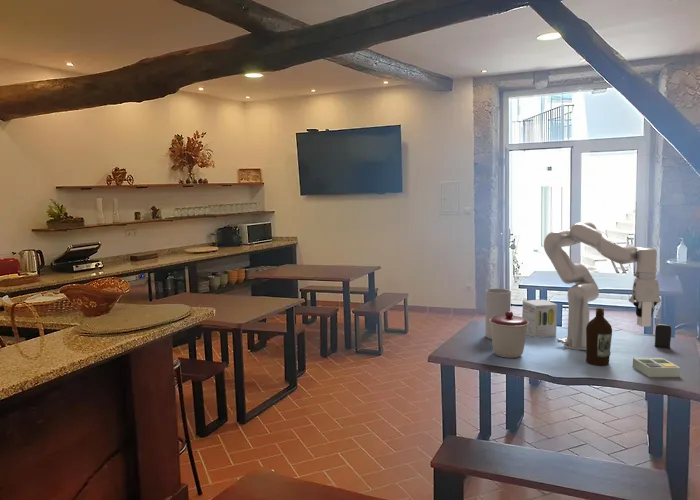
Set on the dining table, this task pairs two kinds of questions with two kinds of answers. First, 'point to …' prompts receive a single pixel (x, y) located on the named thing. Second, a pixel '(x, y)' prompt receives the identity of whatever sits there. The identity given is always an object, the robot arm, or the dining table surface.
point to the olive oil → (598, 340)
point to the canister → (508, 334)
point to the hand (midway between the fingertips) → (644, 315)
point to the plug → (645, 315)
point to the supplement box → (540, 318)
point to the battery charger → (663, 335)
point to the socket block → (656, 367)
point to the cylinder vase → (496, 306)
